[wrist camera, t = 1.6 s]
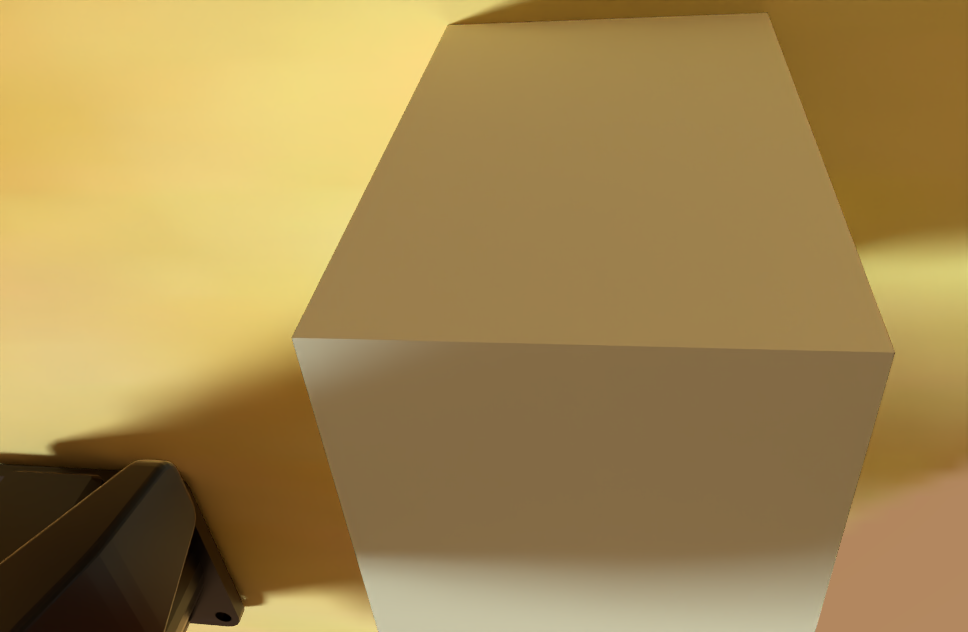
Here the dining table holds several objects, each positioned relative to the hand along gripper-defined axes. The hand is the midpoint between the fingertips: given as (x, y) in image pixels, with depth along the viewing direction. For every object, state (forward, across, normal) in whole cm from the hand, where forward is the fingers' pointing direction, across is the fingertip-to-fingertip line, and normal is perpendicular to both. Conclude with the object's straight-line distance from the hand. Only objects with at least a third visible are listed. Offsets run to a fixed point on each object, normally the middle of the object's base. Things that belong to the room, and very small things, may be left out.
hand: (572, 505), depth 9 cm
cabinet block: (+8, 0, 0) cm, 8 cm away
